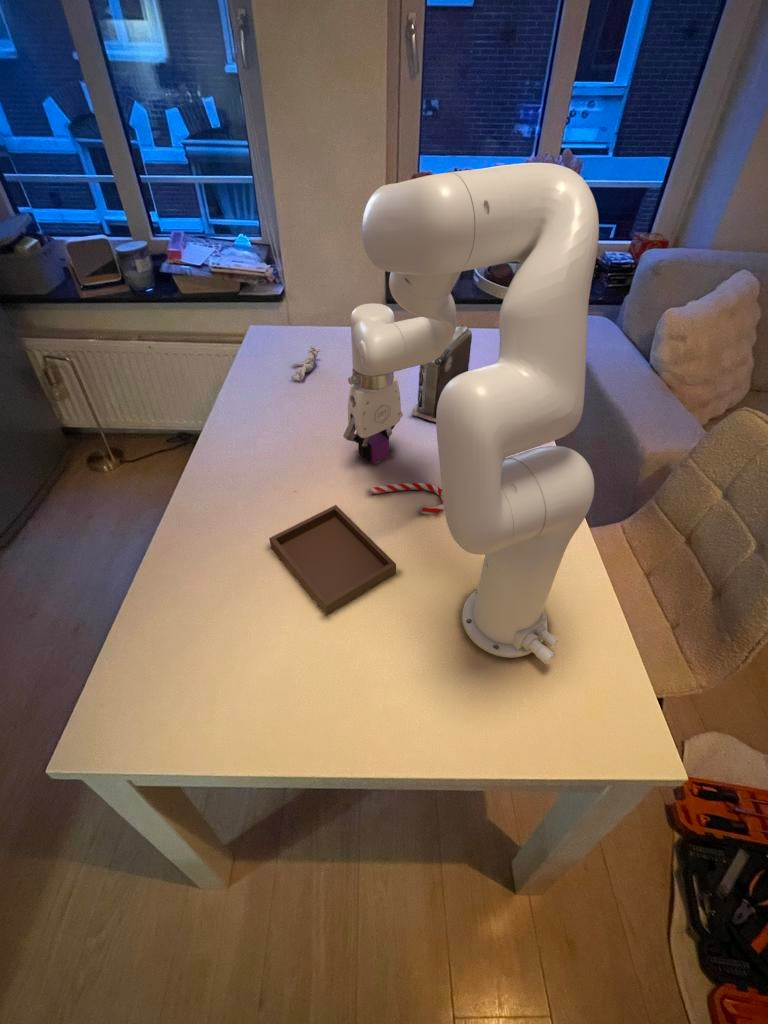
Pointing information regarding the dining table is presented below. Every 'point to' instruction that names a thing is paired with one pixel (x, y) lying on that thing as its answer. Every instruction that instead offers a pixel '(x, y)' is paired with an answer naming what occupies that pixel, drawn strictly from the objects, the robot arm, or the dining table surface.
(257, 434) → the dining table surface
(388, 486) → the candy cane
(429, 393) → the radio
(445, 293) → the robot arm
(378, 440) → the cube
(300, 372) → the soldier figure
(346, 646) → the dining table surface
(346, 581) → the tray
